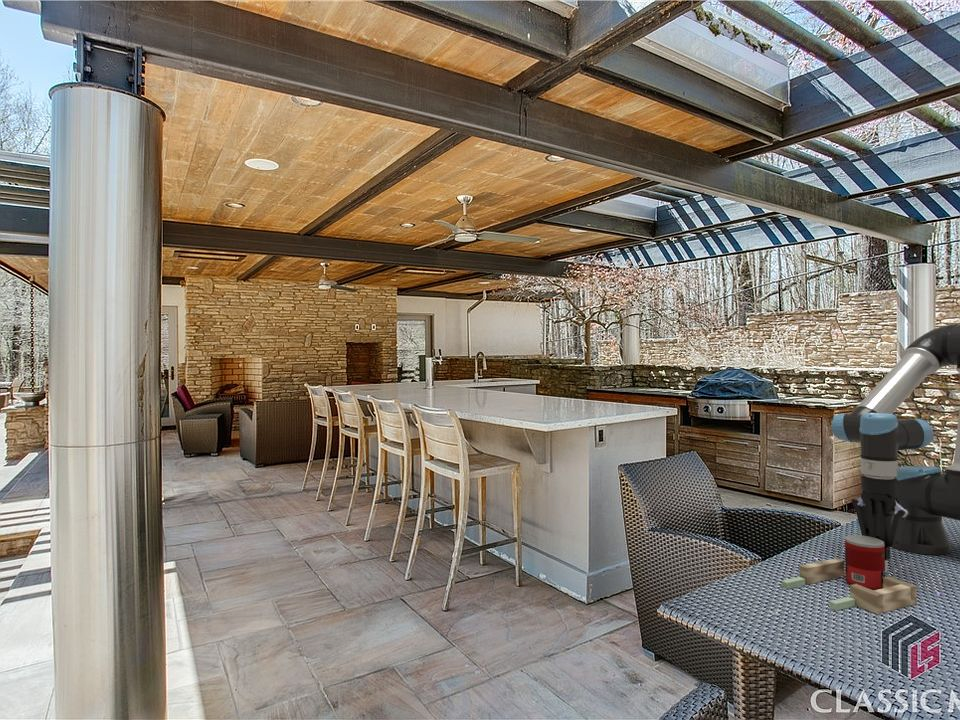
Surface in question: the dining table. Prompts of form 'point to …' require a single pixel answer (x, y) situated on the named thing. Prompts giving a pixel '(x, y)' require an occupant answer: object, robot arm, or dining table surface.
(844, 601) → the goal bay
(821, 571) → the lane
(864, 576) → the canned food
